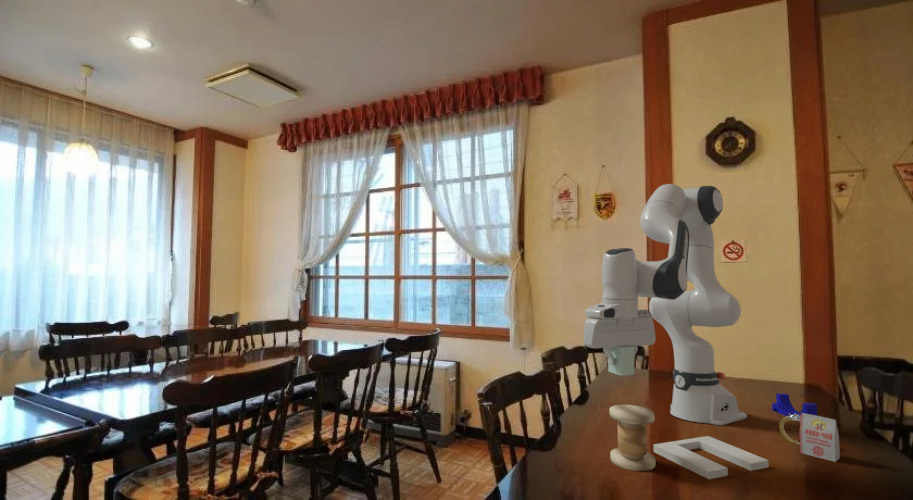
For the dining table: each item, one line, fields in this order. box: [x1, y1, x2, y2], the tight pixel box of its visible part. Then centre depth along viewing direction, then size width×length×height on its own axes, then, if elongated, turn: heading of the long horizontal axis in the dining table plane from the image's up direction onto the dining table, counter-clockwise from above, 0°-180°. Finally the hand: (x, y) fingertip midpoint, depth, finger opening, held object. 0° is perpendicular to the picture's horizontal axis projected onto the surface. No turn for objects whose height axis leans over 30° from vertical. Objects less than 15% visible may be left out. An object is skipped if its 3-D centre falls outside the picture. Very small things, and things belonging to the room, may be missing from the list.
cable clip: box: [771, 393, 818, 417], centre depth 137 cm, size 12×4×6 cm, turn 2°
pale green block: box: [607, 346, 635, 377], centre depth 114 cm, size 4×5×7 cm
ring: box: [778, 413, 801, 445], centre depth 115 cm, size 7×3×8 cm, turn 28°
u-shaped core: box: [653, 435, 770, 480], centre depth 105 cm, size 18×16×2 cm
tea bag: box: [798, 413, 841, 463], centre depth 107 cm, size 4×7×10 cm, turn 37°
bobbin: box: [609, 404, 657, 472], centre depth 105 cm, size 10×10×12 cm
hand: (620, 364), depth 114 cm, fingers closed on pale green block, 4 cm apart
